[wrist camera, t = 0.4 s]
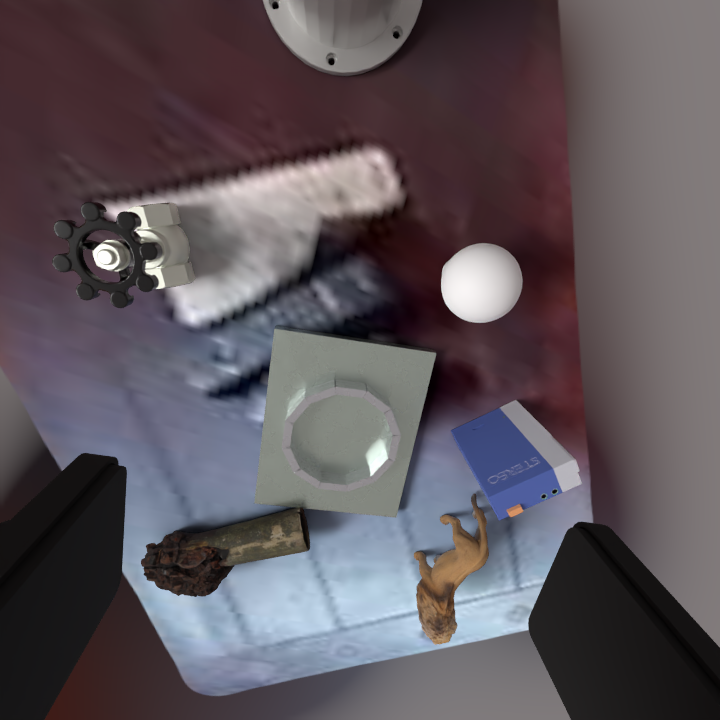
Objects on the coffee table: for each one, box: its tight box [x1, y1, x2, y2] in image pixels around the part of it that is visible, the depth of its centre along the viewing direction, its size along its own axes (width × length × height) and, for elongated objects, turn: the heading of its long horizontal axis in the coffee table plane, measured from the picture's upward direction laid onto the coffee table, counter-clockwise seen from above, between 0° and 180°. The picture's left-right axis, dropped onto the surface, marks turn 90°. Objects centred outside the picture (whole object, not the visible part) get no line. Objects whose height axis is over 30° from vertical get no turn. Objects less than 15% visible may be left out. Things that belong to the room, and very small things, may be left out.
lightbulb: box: [441, 243, 523, 323], centre depth 35 cm, size 6×6×11 cm
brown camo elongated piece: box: [141, 508, 310, 597], centre depth 46 cm, size 18×7×6 cm, turn 100°
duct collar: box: [255, 326, 436, 517], centre depth 43 cm, size 20×16×3 cm
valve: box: [52, 202, 195, 308], centre depth 32 cm, size 7×7×12 cm
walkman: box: [451, 400, 582, 520], centre depth 40 cm, size 8×3×12 cm, turn 116°
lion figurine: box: [414, 494, 489, 645], centre depth 47 cm, size 15×5×9 cm, turn 157°
